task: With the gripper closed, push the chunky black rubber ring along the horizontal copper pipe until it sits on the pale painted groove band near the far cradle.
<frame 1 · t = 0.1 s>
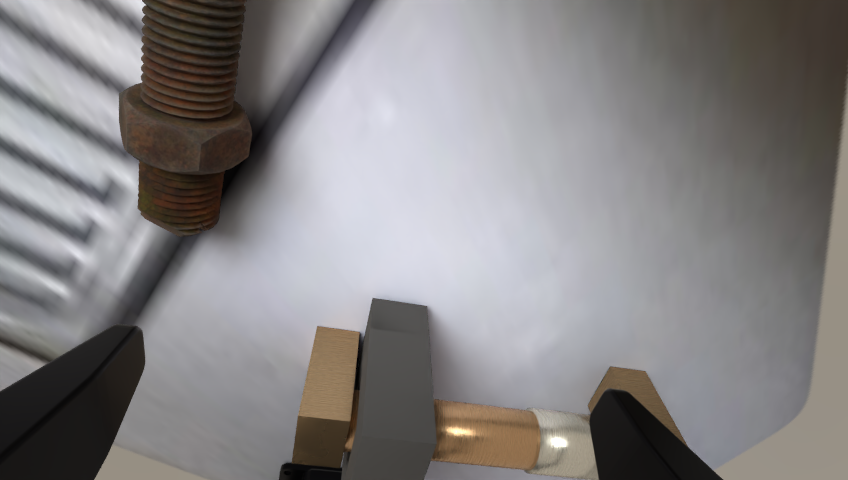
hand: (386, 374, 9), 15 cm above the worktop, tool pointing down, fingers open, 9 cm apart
bolt: (211, 37, 20), on the worktop
pipe: (481, 371, 30), on the worktop
ring: (382, 423, 25), point 5 cm above the worktop, slide at 0.0 cm
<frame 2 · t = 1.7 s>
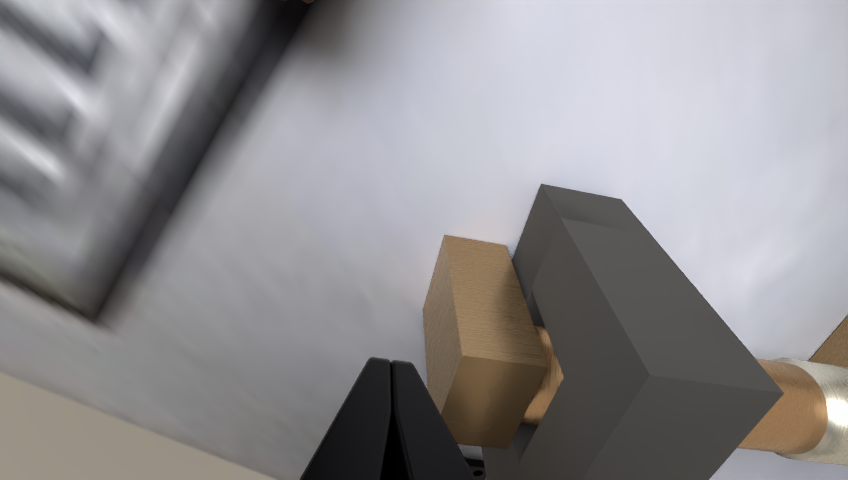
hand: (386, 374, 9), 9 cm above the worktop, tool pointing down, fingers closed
pipe: (670, 311, 20), on the worktop
ring: (569, 378, 16), point 5 cm above the worktop, slide at 0.0 cm
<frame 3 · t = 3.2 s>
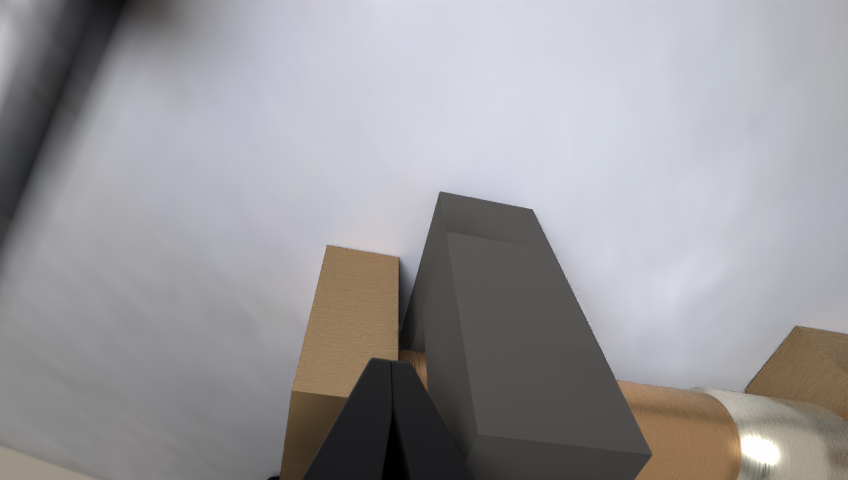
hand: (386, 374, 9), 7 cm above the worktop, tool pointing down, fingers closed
pipe: (591, 331, 19), on the worktop
ring: (462, 413, 14), point 5 cm above the worktop, slide at 0.4 cm, touching gripper
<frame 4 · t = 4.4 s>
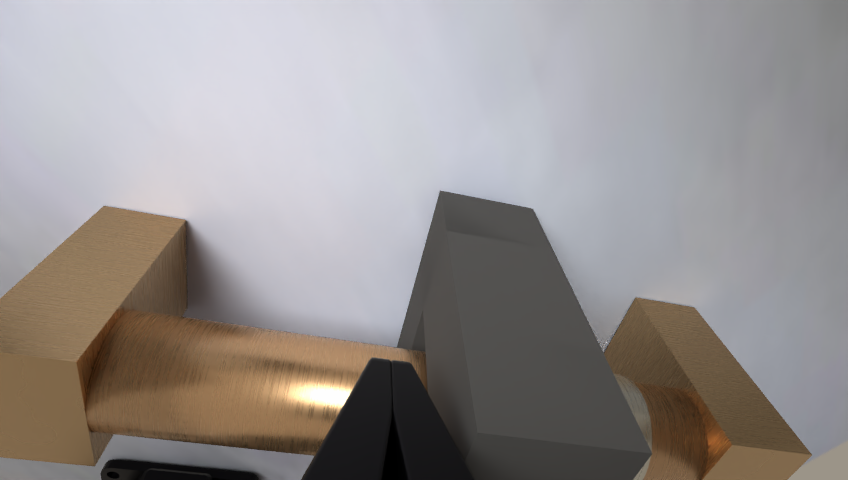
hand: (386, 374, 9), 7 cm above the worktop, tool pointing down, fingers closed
pipe: (415, 302, 18), on the worktop
ring: (462, 412, 14), point 5 cm above the worktop, slide at 7.3 cm, touching gripper
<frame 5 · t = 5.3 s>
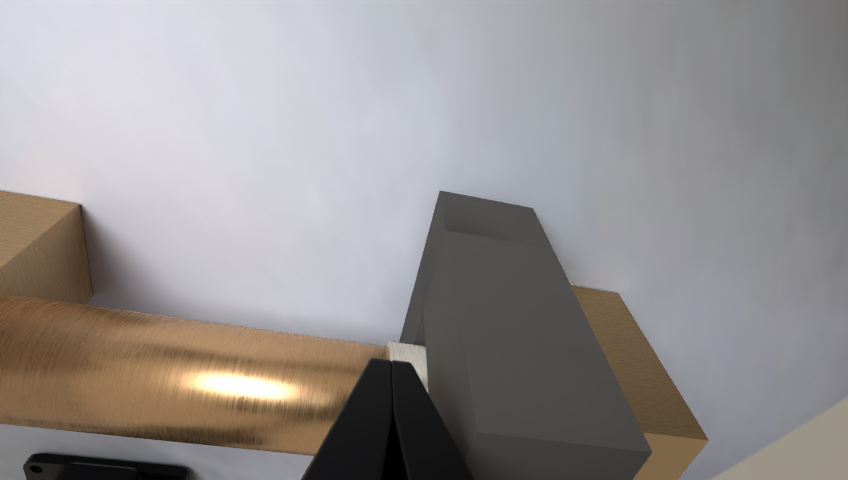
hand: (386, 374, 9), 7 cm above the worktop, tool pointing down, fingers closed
pipe: (328, 289, 17), on the worktop
ring: (463, 412, 14), point 5 cm above the worktop, slide at 10.4 cm, touching gripper
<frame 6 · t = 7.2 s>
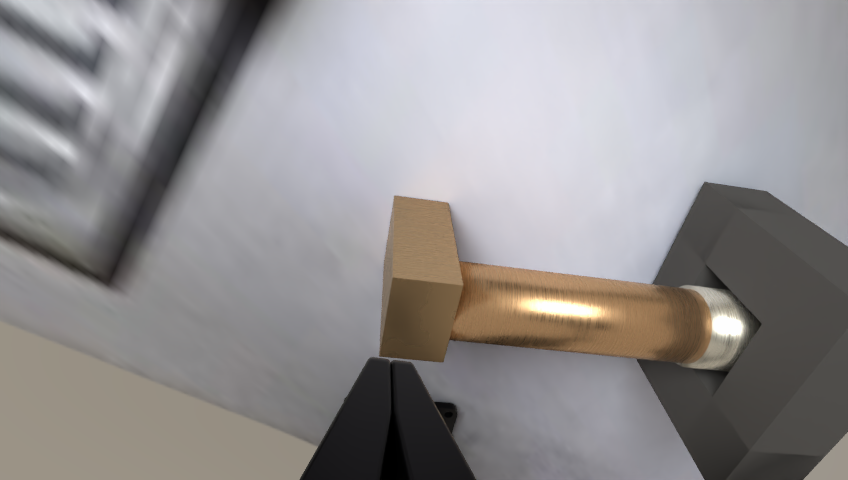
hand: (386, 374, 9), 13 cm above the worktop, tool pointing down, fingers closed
pipe: (599, 257, 24), on the worktop
ring: (742, 331, 20), point 5 cm above the worktop, slide at 10.5 cm
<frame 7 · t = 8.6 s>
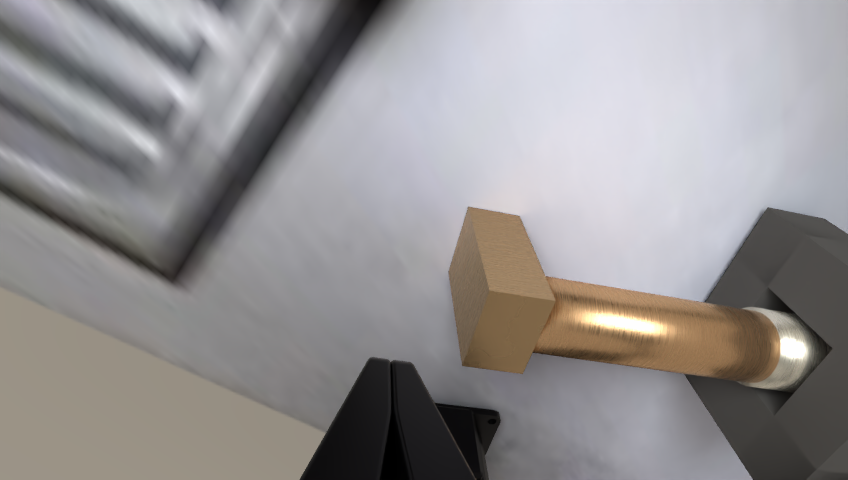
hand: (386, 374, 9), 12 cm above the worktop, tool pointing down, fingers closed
pipe: (657, 274, 24), on the worktop
ring: (801, 354, 21), point 5 cm above the worktop, slide at 10.5 cm
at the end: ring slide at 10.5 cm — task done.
